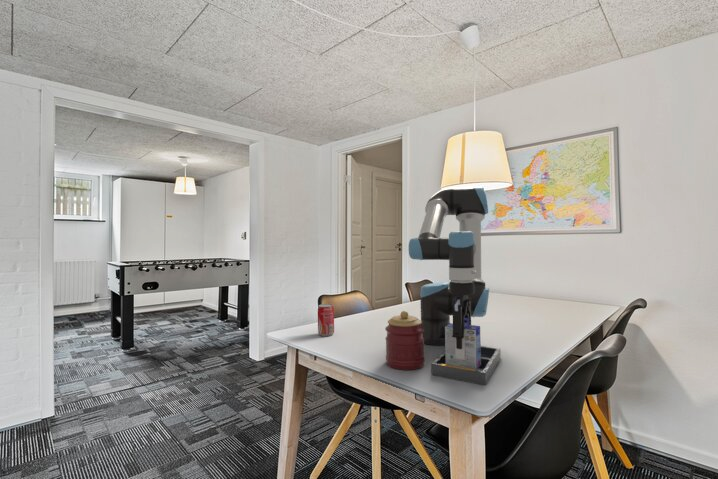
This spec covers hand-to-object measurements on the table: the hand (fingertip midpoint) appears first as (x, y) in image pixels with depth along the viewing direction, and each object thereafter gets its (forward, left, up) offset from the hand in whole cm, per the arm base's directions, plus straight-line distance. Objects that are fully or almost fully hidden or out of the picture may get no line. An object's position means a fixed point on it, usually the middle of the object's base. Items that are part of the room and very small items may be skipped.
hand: (462, 355), depth 111 cm
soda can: (-64, +16, -5) cm, 66 cm away
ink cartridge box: (0, 0, -3) cm, 3 cm away
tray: (0, +6, -5) cm, 8 cm away
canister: (-19, -1, -5) cm, 20 cm away
